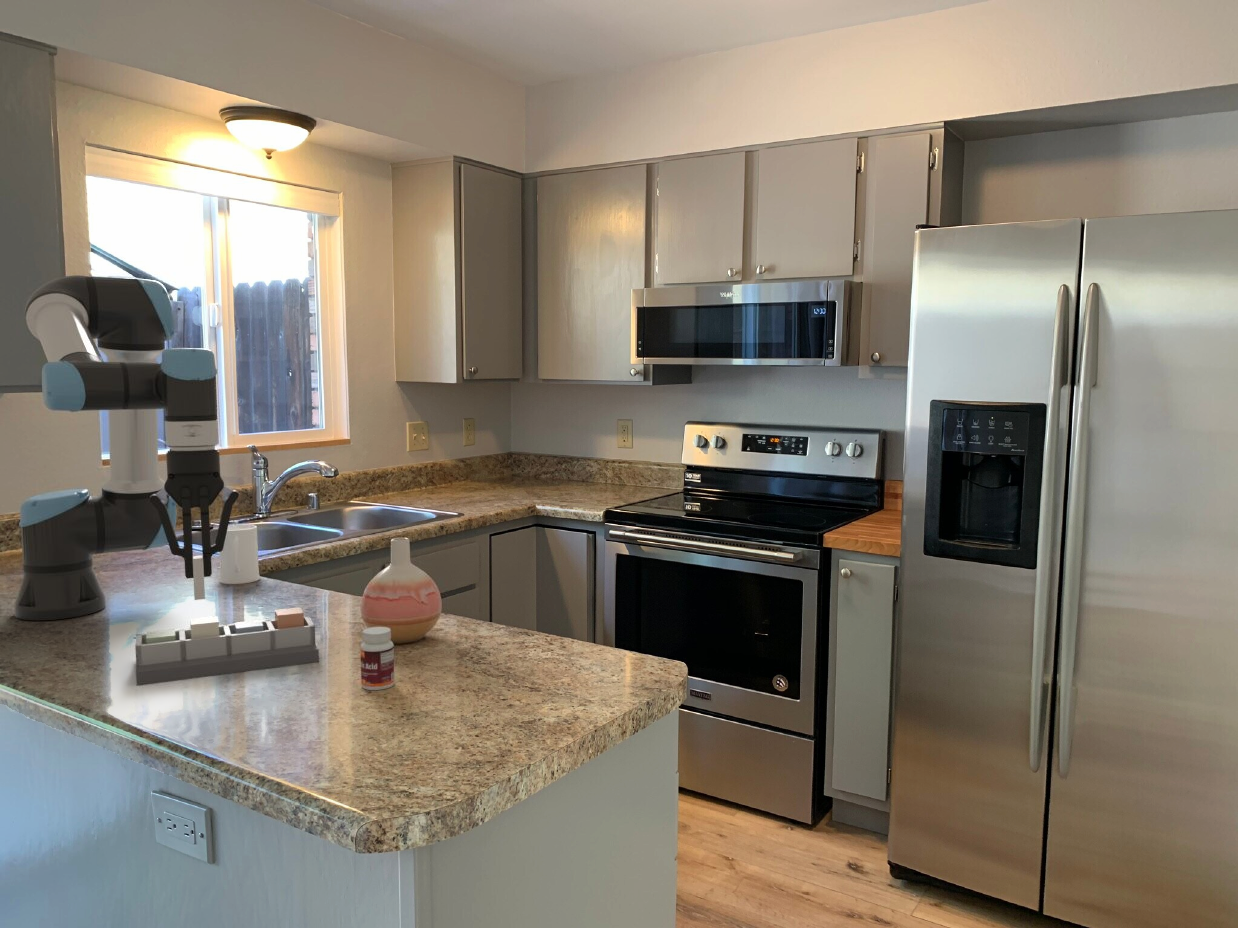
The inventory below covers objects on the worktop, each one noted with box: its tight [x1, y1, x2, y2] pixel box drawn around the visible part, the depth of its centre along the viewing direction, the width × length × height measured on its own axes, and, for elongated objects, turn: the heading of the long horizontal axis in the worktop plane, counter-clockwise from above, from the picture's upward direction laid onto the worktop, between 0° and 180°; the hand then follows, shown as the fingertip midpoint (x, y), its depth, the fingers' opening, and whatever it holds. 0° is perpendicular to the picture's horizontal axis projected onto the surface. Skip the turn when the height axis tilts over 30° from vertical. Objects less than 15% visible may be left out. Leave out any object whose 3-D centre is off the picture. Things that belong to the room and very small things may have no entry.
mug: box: [218, 524, 261, 585], centre depth 208 cm, size 12×8×12 cm
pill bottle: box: [359, 627, 395, 691], centre depth 138 cm, size 5×5×8 cm
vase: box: [360, 537, 443, 645], centre depth 162 cm, size 14×14×18 cm
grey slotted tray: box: [134, 615, 320, 686], centre depth 150 cm, size 26×14×5 cm, turn 116°
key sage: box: [146, 628, 176, 644], centre depth 146 cm, size 4×4×3 cm
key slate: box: [233, 619, 263, 634], centre depth 151 cm, size 4×4×3 cm
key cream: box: [189, 615, 220, 639], centre depth 148 cm, size 4×4×3 cm
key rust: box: [274, 607, 305, 629], centre depth 154 cm, size 4×4×3 cm
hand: (199, 597), depth 147 cm, fingers closed
